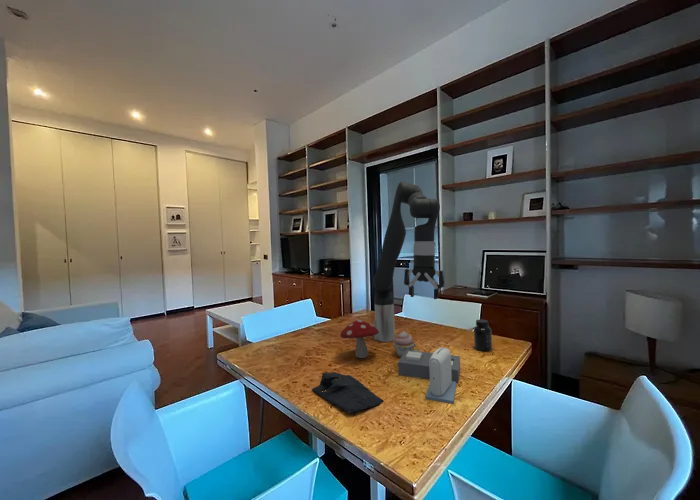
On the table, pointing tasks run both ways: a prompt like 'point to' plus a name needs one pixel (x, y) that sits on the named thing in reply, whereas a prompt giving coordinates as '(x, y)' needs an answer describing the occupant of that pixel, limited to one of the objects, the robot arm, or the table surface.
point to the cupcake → (403, 343)
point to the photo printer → (440, 371)
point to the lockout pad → (446, 397)
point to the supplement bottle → (482, 336)
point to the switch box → (424, 366)
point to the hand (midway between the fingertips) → (423, 297)
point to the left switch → (414, 356)
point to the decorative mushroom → (359, 335)
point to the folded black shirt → (346, 392)
